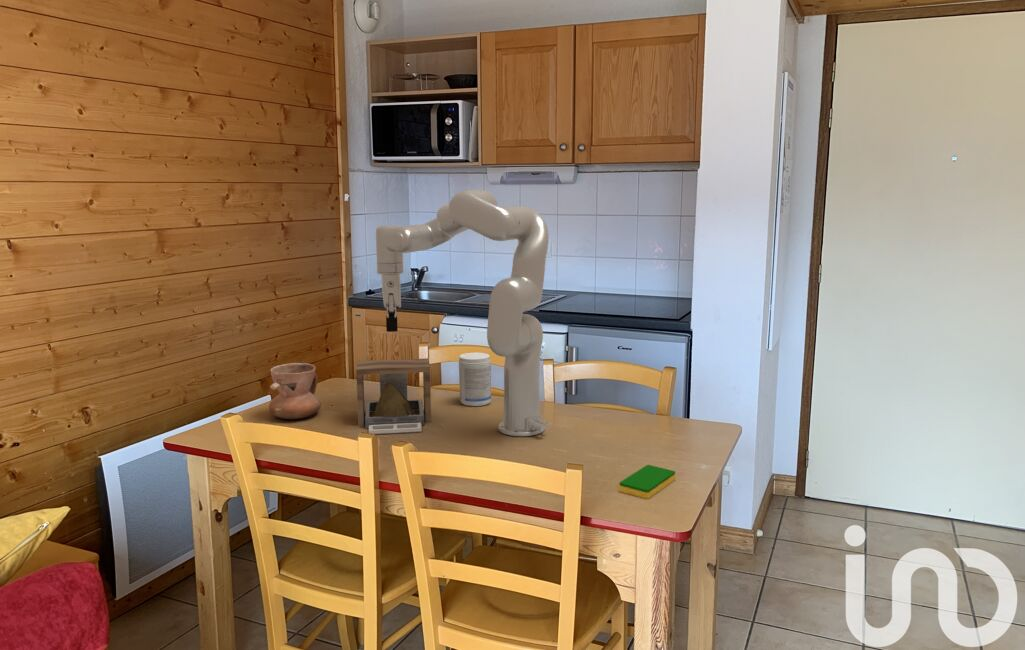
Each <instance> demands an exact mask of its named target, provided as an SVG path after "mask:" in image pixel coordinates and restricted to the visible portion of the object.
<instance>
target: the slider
mask: <svg viewBox="0 0 1025 650" xmlns="http://www.w3.org/2000/svg"><path fill="white" fill-rule="evenodd" d="M407 377H408V373H391V374H379V388H380V396H381V394H382V392H383V389H384V388H385V386H386V384H387V383H389V384H392V385H393V386H395V387H396V388H397V389H398V390H399V391H400V392H401V393H402V394H403V395H404V396H405V398H406V399H407V400H408V401H409V403H410V406H411V408H412V409H413V410H418V414H414V415H401V416H380V417H374V416H371V412H375V409H376V405H377V404H378V402H379V400H375V401H374V400H373V401H366V403H365V419H364V426H365V429H369V425H380V424H400V423H420V422H421V426H425V415H424V404H423V400H422V399H418V398H417V399H408V379H407Z"/></svg>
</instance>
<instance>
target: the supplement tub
mask: <svg viewBox="0 0 1025 650" xmlns="http://www.w3.org/2000/svg"><path fill="white" fill-rule="evenodd" d="M490 356H491V355H490V354H488V353H486V352H467V353H462V354H460V355H459V357H458V359H459V360H458V374H459V376H458V377H459V378H458V379H459V381H458V383H459V402H460V404H462V405H463V406H468V407H481V406H486V405H488V404H490V403H491V402H492V375H491V374H492V370H491V369H492V366H491V365H492V364H491V357H490Z"/></svg>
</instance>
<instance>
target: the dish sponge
mask: <svg viewBox="0 0 1025 650" xmlns="http://www.w3.org/2000/svg"><path fill="white" fill-rule="evenodd" d="M675 480H676V471H675V470H672V469H668V468H665V467H664V468H663V467H660V466H655V465H650V464H647V465H645V466H643V467H642V468H640V469H638V470H637V471H635V472H634V473H632V474H631V475H629V476H627V477H626V478H624V479H623V480H621V481H619V482H618V483H619V485H618V491H619V492H620V493H624V494H628V495H631V496H635V497H639V498H643V499H646V500H647V499H650V498H651V497H653V496H654V495H656V493H659V491H661V490H663V489H664V488H665V487H667V486H668V485H670V484H671V483H673V482H674V481H675Z"/></svg>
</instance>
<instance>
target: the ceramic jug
mask: <svg viewBox="0 0 1025 650" xmlns="http://www.w3.org/2000/svg"><path fill="white" fill-rule="evenodd" d="M270 375H271V376H270V377H271V378H272V382H273V383H272V384H271V385H270V386H269V388H270V389H271V390H277V391H278V394H277V395H276V396H275V397H273V398H272V399H271V401H269V404H268V409H269V412H270V413H271V414H272V416H274V417H276V418H278V419H283V420H298V419H305V418H308V417H310V416H312V415H315V414H316V413H317V412H319V410H320V409H321V406H322V401H321V399H320V397H318V396H317V395H316V394H315V393H316V390H317V386H318V376H317V374H316V366H315V365H314V364H311V363H308V362H293V363H285V364H280V365H279V364H278V365H275V366H273V367H271V368H270Z"/></svg>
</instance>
